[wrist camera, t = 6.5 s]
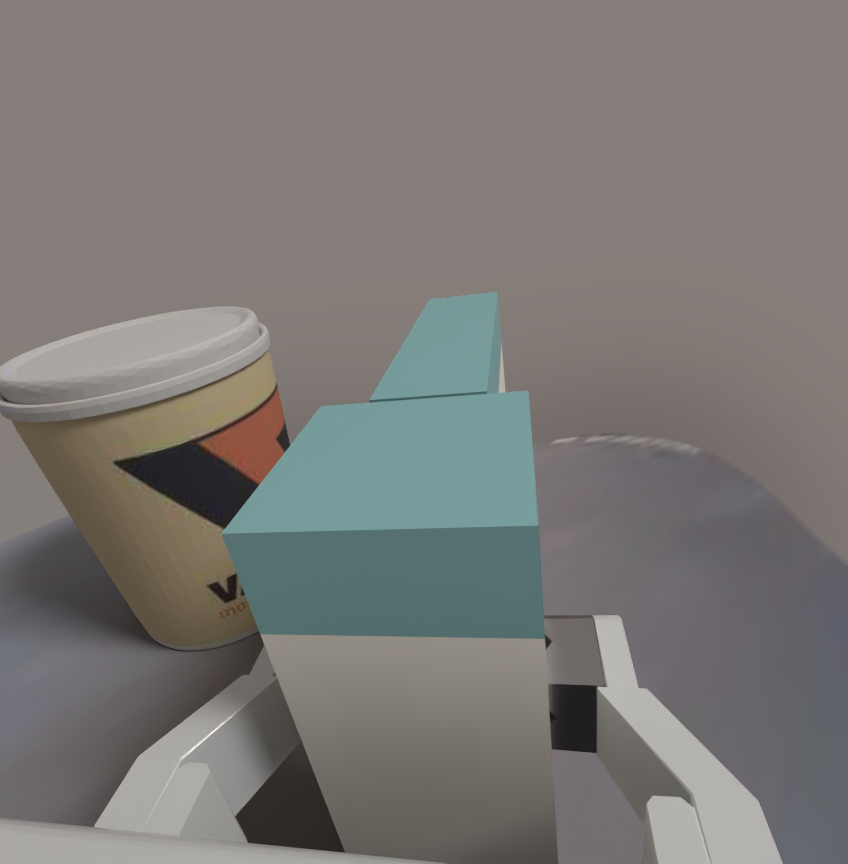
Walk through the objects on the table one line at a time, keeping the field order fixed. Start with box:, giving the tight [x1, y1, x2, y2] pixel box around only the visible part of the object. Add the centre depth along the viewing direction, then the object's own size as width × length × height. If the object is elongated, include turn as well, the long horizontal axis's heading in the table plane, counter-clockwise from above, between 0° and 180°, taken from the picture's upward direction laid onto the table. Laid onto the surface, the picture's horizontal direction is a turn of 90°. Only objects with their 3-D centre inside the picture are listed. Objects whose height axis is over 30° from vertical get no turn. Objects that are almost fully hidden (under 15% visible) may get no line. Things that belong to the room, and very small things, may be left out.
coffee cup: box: [0, 307, 290, 651], centre depth 22 cm, size 9×9×12 cm
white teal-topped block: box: [221, 391, 558, 864], centre depth 11 cm, size 4×4×12 cm
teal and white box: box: [369, 292, 505, 403], centre depth 17 cm, size 3×9×12 cm, turn 171°
